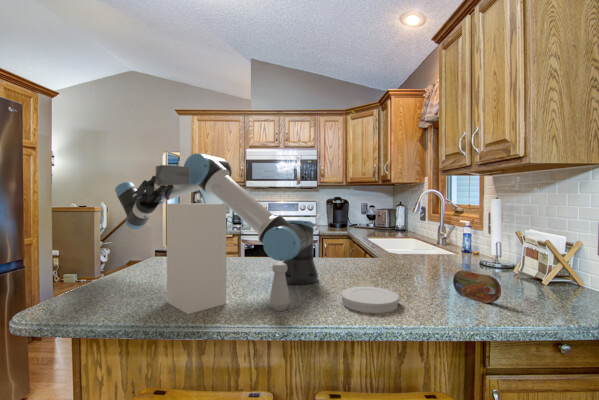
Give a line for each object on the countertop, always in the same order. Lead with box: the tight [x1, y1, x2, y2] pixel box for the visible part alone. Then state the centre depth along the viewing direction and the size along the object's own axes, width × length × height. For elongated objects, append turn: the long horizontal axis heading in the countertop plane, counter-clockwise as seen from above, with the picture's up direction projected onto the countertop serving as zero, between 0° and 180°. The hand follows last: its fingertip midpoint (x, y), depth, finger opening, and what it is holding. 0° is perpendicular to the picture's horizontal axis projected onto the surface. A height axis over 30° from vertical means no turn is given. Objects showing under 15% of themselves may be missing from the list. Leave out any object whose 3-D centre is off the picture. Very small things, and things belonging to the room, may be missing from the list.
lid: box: [340, 286, 400, 314], centre depth 96 cm, size 17×20×3 cm
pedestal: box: [166, 202, 227, 315], centre depth 94 cm, size 14×12×30 cm
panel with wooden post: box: [155, 164, 189, 186], centre depth 111 cm, size 18×9×6 cm, turn 45°
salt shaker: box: [269, 262, 291, 312], centre depth 90 cm, size 6×6×13 cm
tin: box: [452, 269, 502, 304], centre depth 99 cm, size 15×3×8 cm, turn 23°
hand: (166, 172), depth 110 cm, fingers closed on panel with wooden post, 3 cm apart
